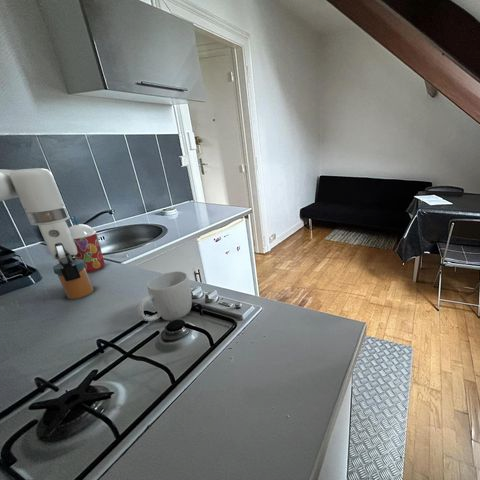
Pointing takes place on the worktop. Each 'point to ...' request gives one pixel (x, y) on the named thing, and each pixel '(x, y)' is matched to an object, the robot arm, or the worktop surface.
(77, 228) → the smoothie
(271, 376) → the worktop surface
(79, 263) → the jar lid
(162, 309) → the mug
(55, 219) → the robot arm
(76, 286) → the jam jar
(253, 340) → the worktop surface
